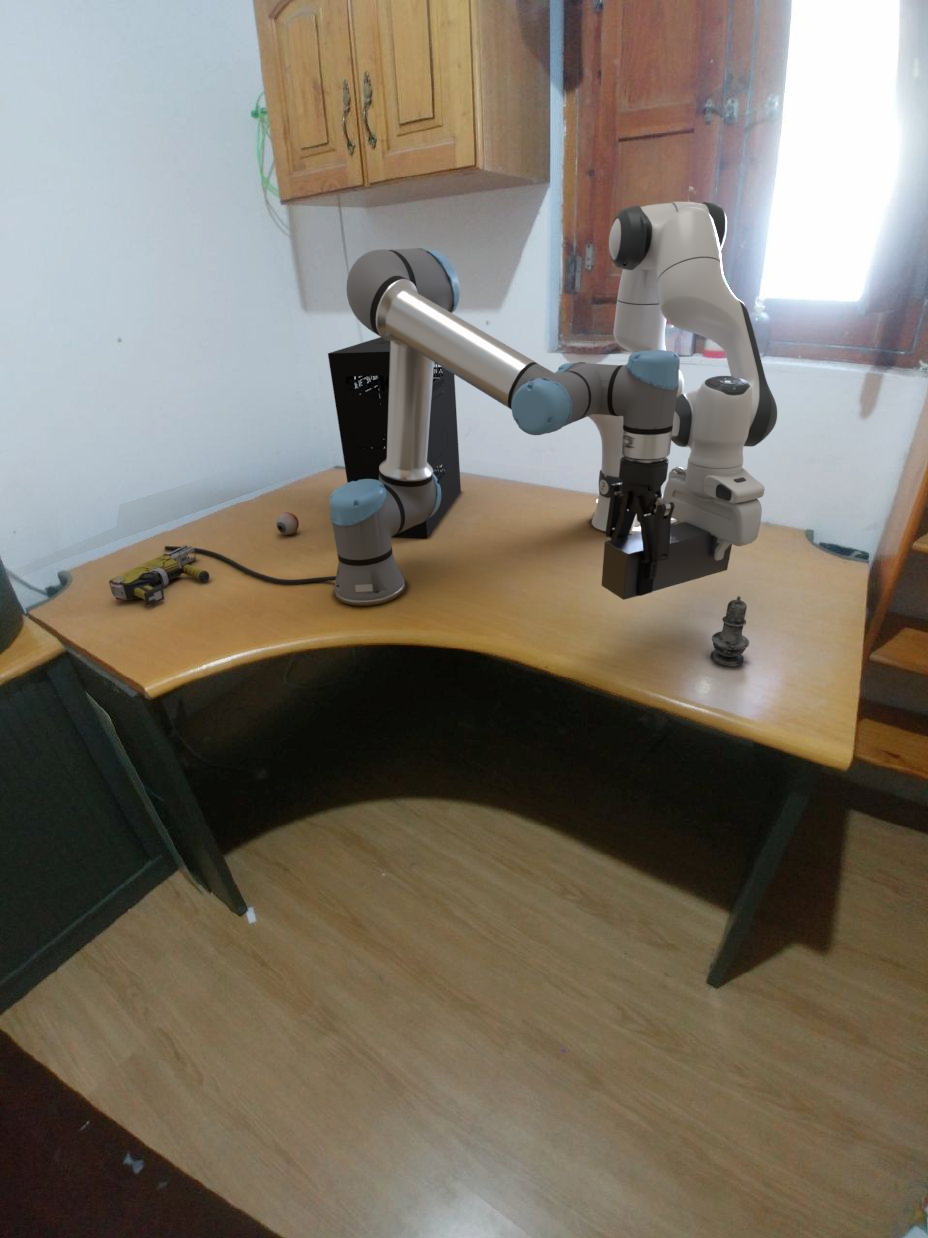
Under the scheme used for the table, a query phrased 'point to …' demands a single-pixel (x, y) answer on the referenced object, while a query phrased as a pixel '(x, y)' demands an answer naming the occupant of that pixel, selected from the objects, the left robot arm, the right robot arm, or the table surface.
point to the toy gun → (155, 576)
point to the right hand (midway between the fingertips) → (700, 551)
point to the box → (682, 565)
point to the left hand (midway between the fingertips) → (631, 584)
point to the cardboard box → (369, 421)
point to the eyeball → (287, 523)
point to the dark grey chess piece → (731, 636)
